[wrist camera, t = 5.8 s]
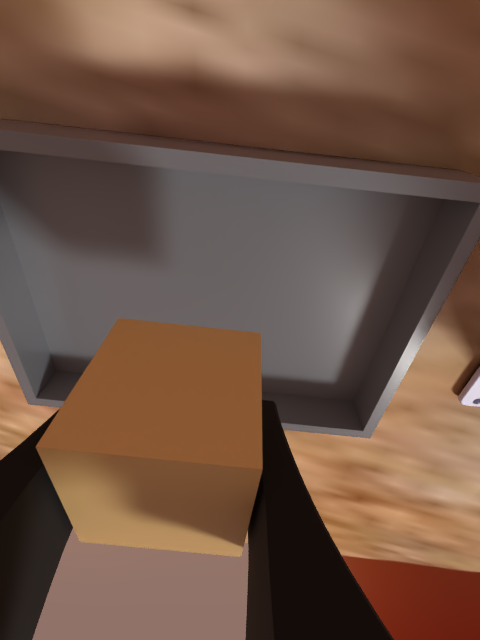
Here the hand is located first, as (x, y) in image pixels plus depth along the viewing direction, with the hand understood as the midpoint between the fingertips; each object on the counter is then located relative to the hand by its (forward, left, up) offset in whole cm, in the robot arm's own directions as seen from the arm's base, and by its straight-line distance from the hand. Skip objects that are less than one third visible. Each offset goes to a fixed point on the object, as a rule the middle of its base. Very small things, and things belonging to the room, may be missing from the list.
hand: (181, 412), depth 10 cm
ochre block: (0, 0, -2) cm, 2 cm away
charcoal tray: (0, 0, -8) cm, 8 cm away
